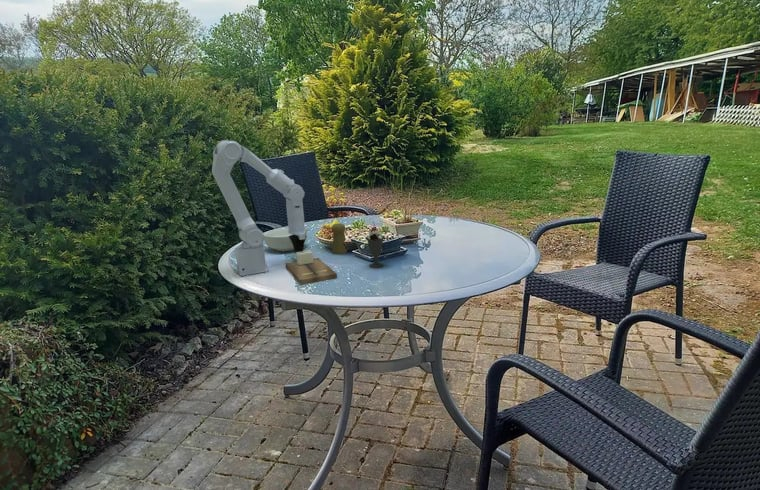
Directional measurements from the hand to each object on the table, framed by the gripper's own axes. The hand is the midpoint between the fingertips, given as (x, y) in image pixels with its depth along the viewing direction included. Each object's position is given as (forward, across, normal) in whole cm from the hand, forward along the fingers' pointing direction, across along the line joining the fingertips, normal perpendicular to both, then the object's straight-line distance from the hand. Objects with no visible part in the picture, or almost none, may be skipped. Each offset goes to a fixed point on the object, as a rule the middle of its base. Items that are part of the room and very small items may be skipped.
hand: (299, 254), depth 161 cm
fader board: (+3, -14, 0) cm, 14 cm away
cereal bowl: (+3, +20, 0) cm, 21 cm away
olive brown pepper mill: (+3, +4, -17) cm, 18 cm away
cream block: (+1, -8, 0) cm, 8 cm away
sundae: (+3, -19, -22) cm, 29 cm away
